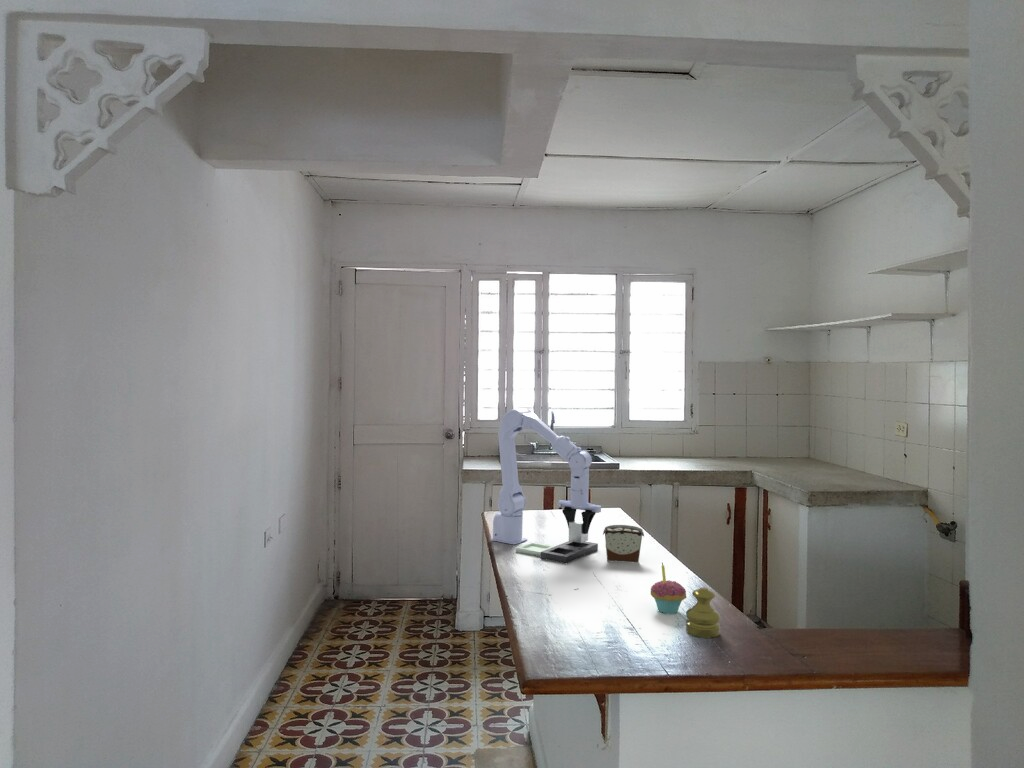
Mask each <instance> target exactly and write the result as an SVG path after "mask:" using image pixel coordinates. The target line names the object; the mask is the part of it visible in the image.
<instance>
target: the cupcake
mask: <svg viewBox="0 0 1024 768" xmlns="http://www.w3.org/2000/svg"><path fill="white" fill-rule="evenodd" d="M665 568H666V567H665V565H664V563H663V562H661V573H662V580H660V581H657V582H655V583H654V584H653V585H651V587H650V595H651V597H652V598H653V599H654V601H655V603H656V607H657V608H656V609H657V610H659V611H658V612H660V613H662V612H663V614H666V613H669V615H673V614H677V613H678V612H679V609H680V606H681V604H682V601H684V600H686V598H687V590H686V588H685V587H684V586H683V585H681V584H680V583H679V582H677V580H675V581H674V580H673V581H672V580H666V579H667V578H666V571H665V570H666V569H665Z"/></svg>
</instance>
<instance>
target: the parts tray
mask: <svg viewBox="0 0 1024 768" xmlns="http://www.w3.org/2000/svg"><path fill="white" fill-rule="evenodd" d="M555 546H556V545H555ZM555 546H554V545H550V544H544V543H539V542H533V541H531V542H528V543H525V544H522V545H520V546H517V547H515V552H516V553H520V554H524V555H529V554H530V555H529V556H534V555H536V556H535V557H539V556H541V552H542V551H544V550H547V549H550V548H552V547H555Z"/></svg>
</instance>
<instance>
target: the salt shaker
mask: <svg viewBox="0 0 1024 768" xmlns="http://www.w3.org/2000/svg"><path fill="white" fill-rule="evenodd" d="M691 595H692V596H693V597H694V598H695V599H696V601H697V602H696V603H695V604H694V605H693V606H692V607H690V608H688V609H687V610H686V612H685V613H686V614H685V615H686V618H687V619H686V621H685V631H686V632H687V633H688V634H689V635H690V636H693V635H694V636H693V637H696V636H697V638H700V637H705V638H704V639H712V638H711V637H714V638H717V637H719V636H720V634H721V624H720V623H719V622H720V621H721V617H722V616H721V614H720V613H719V612H718V610H715V608H714V606H712V605H711V603H710V602H711V601H712V600H713V599H715V598H716V593H715V592H714V591H712V590H711V589H709V588H708V587H703V586H702V587H699V588H696V589H695V590H693V591H692V594H691ZM716 636H717V637H716Z"/></svg>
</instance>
